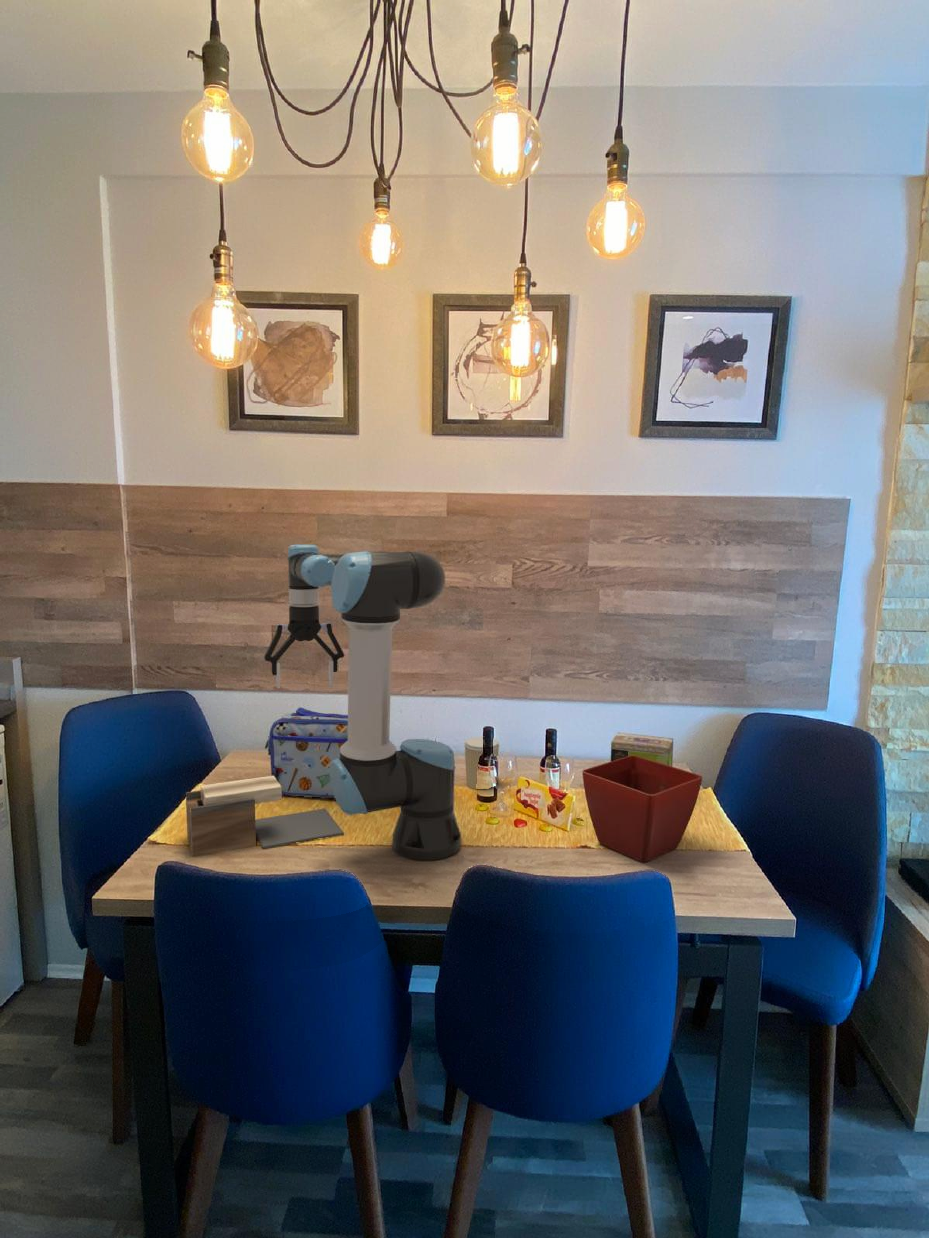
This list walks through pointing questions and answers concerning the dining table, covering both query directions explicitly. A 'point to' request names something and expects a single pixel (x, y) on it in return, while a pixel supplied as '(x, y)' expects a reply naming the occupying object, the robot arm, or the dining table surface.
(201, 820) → the walnut box
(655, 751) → the tea box
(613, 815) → the plant pot
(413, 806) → the robot arm
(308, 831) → the charcoal mat
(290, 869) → the dining table surface
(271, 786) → the birch lid
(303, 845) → the dining table surface
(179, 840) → the dining table surface
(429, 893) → the dining table surface
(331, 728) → the lunch box
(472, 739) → the coffee cup
